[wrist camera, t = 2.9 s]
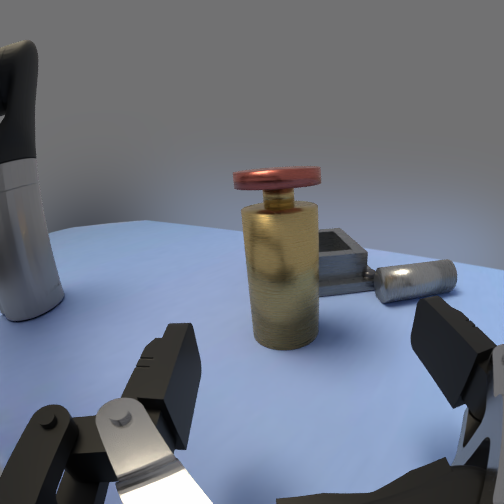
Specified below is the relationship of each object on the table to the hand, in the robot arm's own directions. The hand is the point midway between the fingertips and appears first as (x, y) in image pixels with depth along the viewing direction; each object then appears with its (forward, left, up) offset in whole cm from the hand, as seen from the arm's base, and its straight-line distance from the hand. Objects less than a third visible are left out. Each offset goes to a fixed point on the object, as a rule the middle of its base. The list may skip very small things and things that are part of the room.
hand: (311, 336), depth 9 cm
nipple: (+13, +15, -5) cm, 21 cm away
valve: (0, +11, -7) cm, 13 cm away
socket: (+4, +22, -7) cm, 23 cm away
